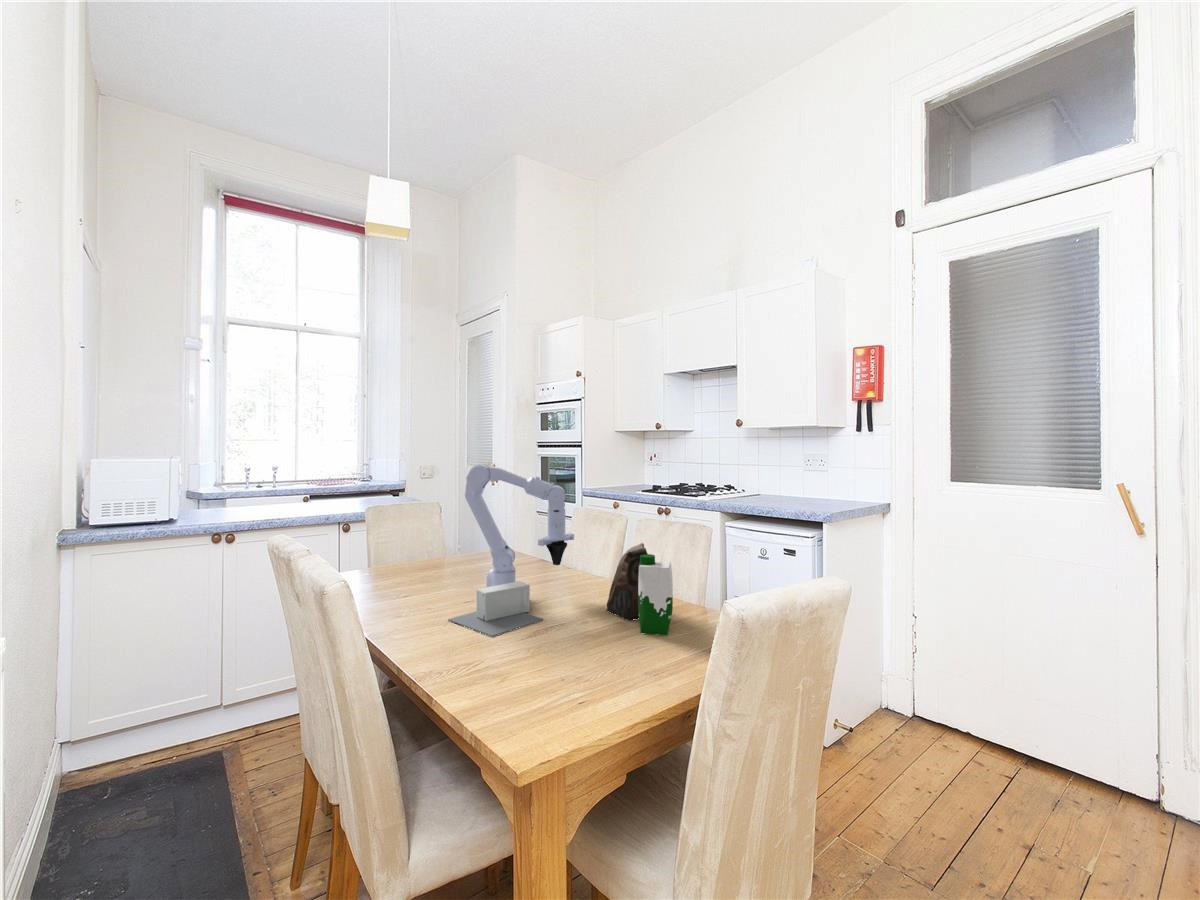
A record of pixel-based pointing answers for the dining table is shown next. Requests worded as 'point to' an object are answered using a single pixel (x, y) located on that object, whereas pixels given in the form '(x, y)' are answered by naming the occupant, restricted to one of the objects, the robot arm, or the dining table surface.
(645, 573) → the milk carton
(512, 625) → the mat
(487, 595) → the skincare box
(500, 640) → the dining table surface
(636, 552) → the owl
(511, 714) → the dining table surface
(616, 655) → the dining table surface
